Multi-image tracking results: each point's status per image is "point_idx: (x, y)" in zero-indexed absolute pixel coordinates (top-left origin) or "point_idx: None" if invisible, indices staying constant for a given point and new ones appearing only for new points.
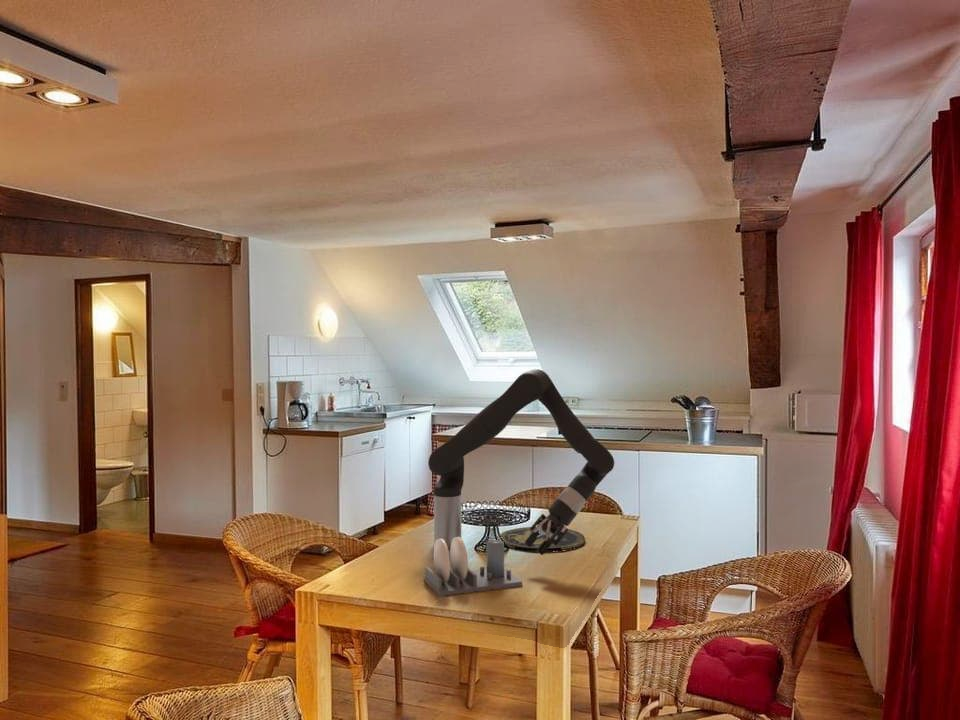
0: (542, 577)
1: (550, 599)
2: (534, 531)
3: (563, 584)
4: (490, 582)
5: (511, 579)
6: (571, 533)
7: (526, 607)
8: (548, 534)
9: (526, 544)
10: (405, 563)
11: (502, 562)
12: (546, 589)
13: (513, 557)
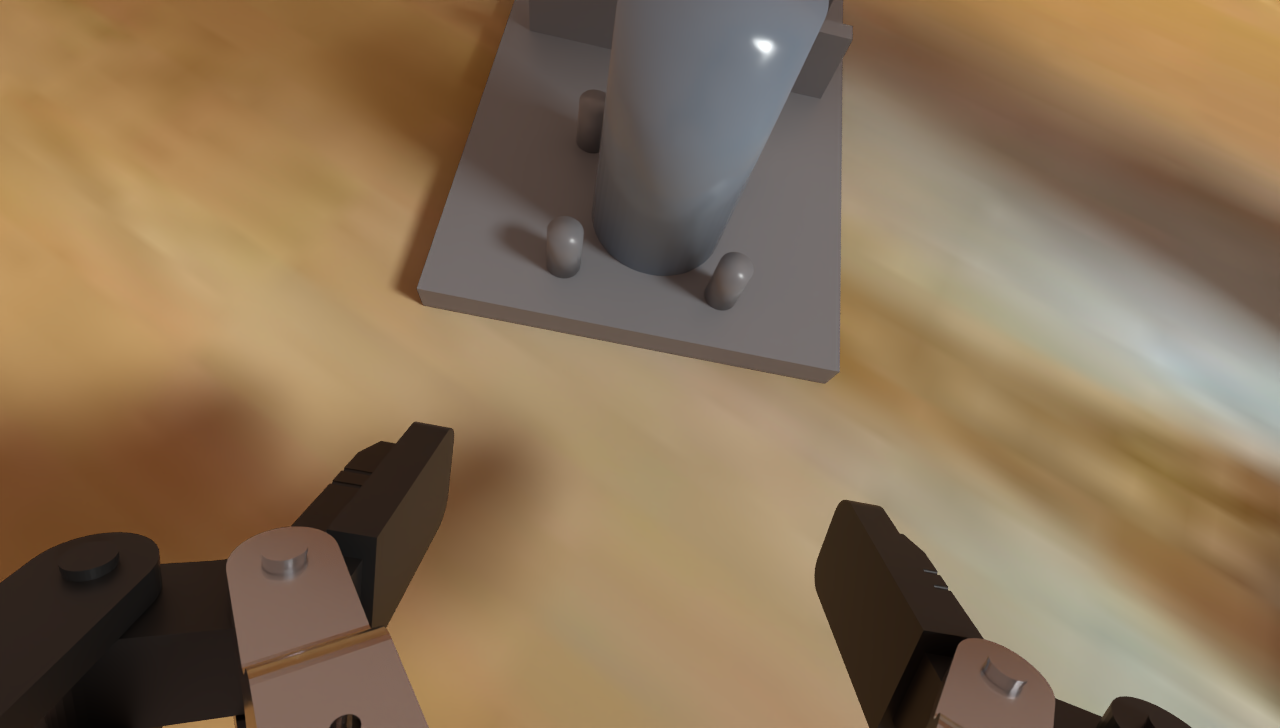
0: (499, 577)
1: (5, 290)
2: (946, 675)
3: None
4: (542, 118)
5: (511, 253)
6: None
7: (43, 84)
8: (293, 650)
9: (834, 519)
10: (1138, 44)
11: (606, 154)
12: (214, 407)
13: (1150, 695)
